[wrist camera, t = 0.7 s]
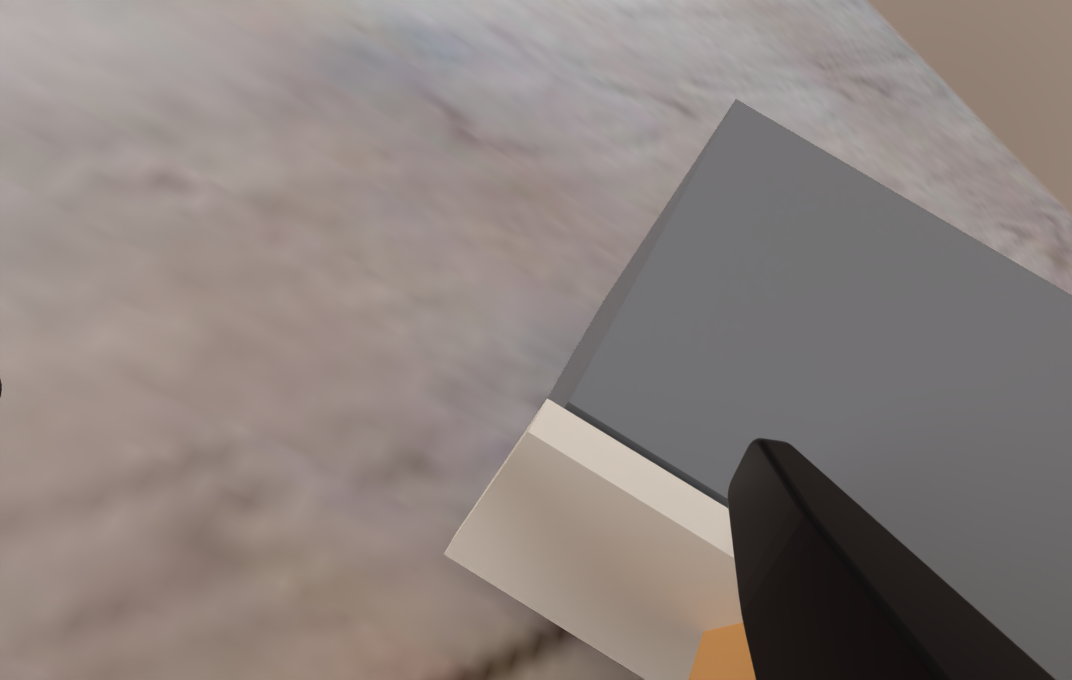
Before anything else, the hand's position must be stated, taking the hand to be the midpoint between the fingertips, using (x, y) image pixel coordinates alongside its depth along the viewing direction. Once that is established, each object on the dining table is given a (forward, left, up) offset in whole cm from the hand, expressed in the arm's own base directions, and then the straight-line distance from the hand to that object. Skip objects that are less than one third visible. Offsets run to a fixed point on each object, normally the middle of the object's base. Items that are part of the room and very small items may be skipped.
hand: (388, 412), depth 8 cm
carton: (+1, -12, -14) cm, 19 cm away
